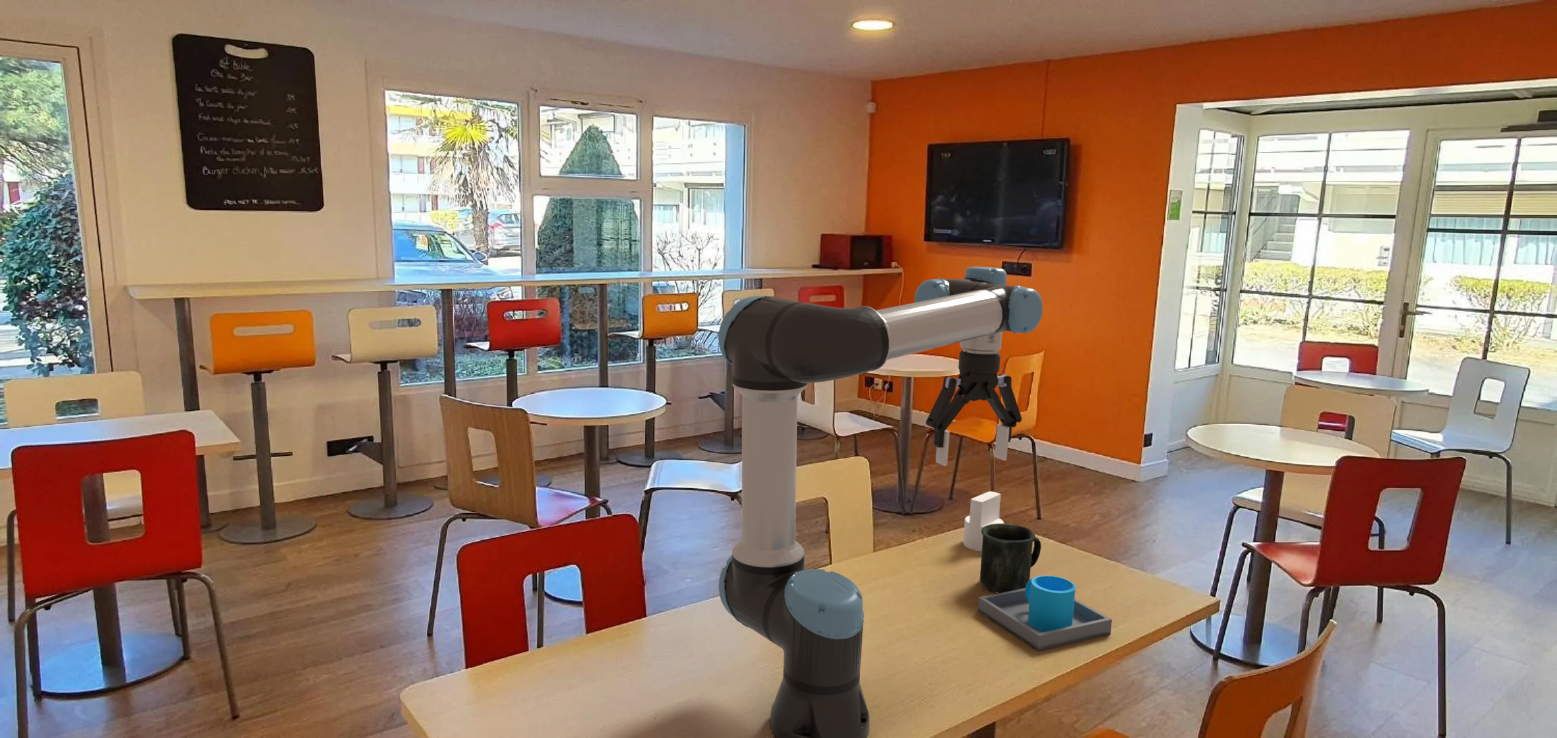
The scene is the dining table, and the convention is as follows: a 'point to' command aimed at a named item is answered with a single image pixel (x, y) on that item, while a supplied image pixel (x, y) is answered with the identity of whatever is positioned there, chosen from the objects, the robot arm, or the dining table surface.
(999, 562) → the mug
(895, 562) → the dining table surface
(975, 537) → the base with upright slab
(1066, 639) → the tray
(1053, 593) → the mug
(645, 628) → the dining table surface
